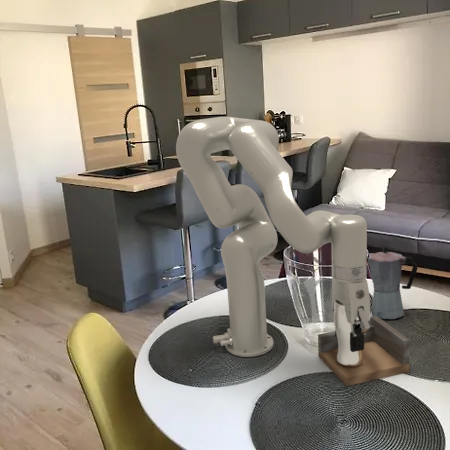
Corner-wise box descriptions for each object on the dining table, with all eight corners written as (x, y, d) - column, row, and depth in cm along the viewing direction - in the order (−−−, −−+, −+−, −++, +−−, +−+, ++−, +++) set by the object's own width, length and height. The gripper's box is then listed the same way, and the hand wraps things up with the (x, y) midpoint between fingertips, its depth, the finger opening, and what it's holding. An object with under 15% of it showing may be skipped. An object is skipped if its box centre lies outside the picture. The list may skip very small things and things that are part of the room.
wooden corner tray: (346, 386, 113) (346, 353, 111) (318, 356, 126) (317, 327, 124) (409, 371, 117) (410, 340, 115) (375, 344, 130) (376, 315, 128)
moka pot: (369, 302, 155) (369, 239, 149) (421, 312, 146) (423, 246, 141) (357, 314, 147) (356, 249, 142) (411, 326, 138) (413, 256, 133)
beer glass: (365, 368, 115) (366, 307, 111) (334, 367, 117) (333, 306, 113) (364, 353, 122) (364, 294, 118) (334, 351, 123) (333, 294, 119)
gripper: (385, 280, 106) (384, 357, 111) (345, 256, 122) (345, 324, 127) (353, 286, 104) (353, 364, 109) (316, 261, 121) (317, 330, 125)
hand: (349, 342), depth 118 cm, fingers closed on beer glass, 6 cm apart
